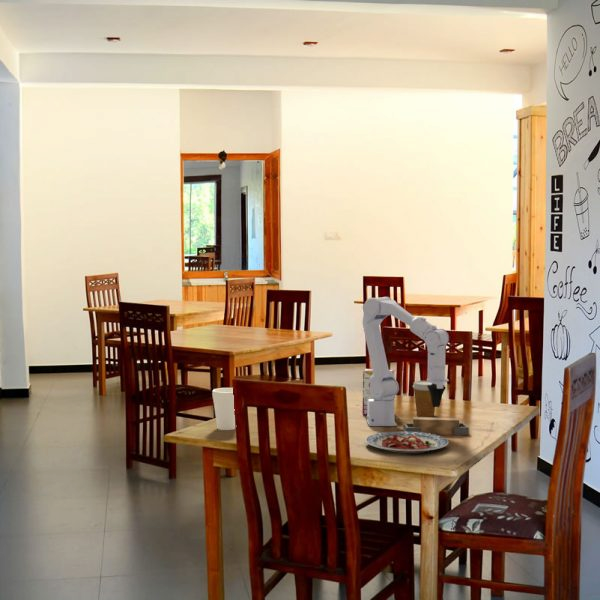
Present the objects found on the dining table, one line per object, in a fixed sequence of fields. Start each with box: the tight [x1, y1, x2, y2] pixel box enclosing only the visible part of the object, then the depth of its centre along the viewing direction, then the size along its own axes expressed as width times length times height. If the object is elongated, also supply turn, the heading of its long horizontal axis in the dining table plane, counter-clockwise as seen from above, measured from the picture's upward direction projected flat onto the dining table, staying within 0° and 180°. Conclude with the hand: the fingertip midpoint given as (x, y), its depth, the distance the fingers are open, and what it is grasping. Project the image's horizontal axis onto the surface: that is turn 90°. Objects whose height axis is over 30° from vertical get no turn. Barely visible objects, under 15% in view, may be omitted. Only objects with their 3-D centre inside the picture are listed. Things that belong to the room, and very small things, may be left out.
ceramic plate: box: [365, 430, 449, 454], centre depth 287 cm, size 26×26×3 cm
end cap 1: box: [402, 422, 421, 432], centre depth 306 cm, size 5×7×2 cm, turn 2°
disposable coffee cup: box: [412, 380, 436, 418], centre depth 335 cm, size 10×10×12 cm
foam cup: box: [211, 387, 236, 431], centre depth 313 cm, size 10×9×13 cm
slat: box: [412, 416, 460, 435], centre depth 306 cm, size 15×4×5 cm, turn 84°
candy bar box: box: [361, 368, 395, 416], centre depth 336 cm, size 11×5×16 cm, turn 80°
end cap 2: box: [453, 422, 470, 436], centre depth 307 cm, size 5×7×2 cm, turn 2°
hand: (435, 406), depth 306 cm, fingers closed
